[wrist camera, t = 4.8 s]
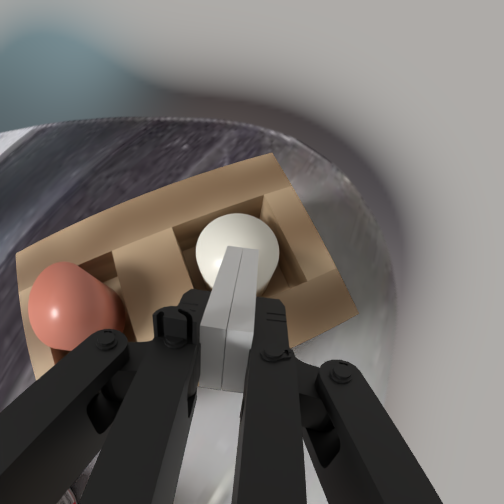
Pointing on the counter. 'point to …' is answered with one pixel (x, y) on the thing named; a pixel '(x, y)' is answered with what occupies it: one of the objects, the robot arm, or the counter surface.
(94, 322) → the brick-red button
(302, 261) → the tray
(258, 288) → the ivory button
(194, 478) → the counter surface
